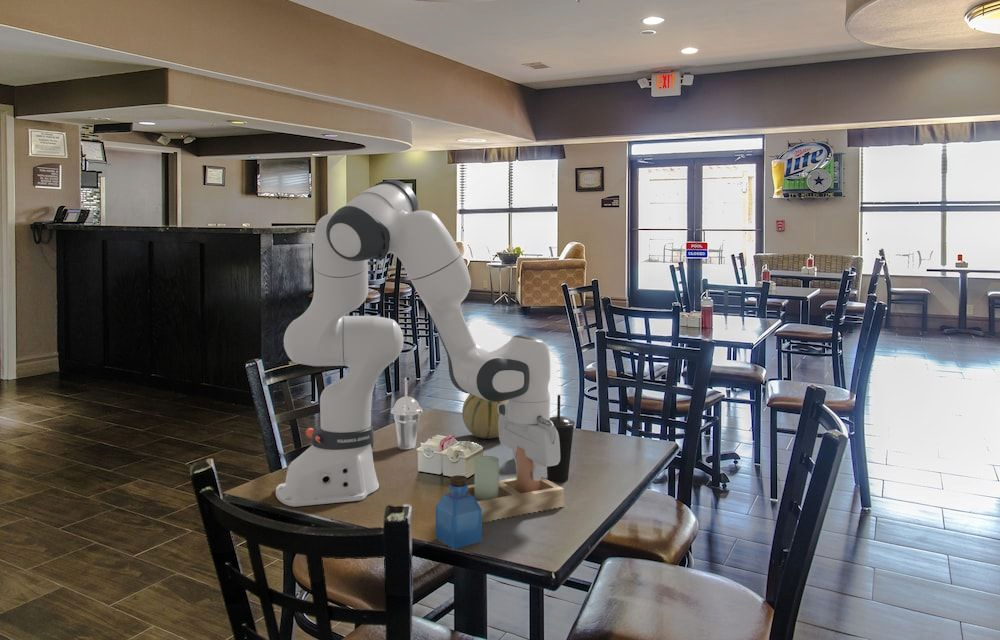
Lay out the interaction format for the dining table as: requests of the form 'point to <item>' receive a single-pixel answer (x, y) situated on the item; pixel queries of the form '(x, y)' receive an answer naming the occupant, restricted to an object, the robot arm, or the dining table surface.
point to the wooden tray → (520, 500)
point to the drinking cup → (562, 446)
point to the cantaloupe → (481, 416)
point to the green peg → (486, 478)
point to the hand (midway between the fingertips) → (528, 475)
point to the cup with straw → (406, 420)
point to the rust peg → (525, 473)
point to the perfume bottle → (458, 516)
